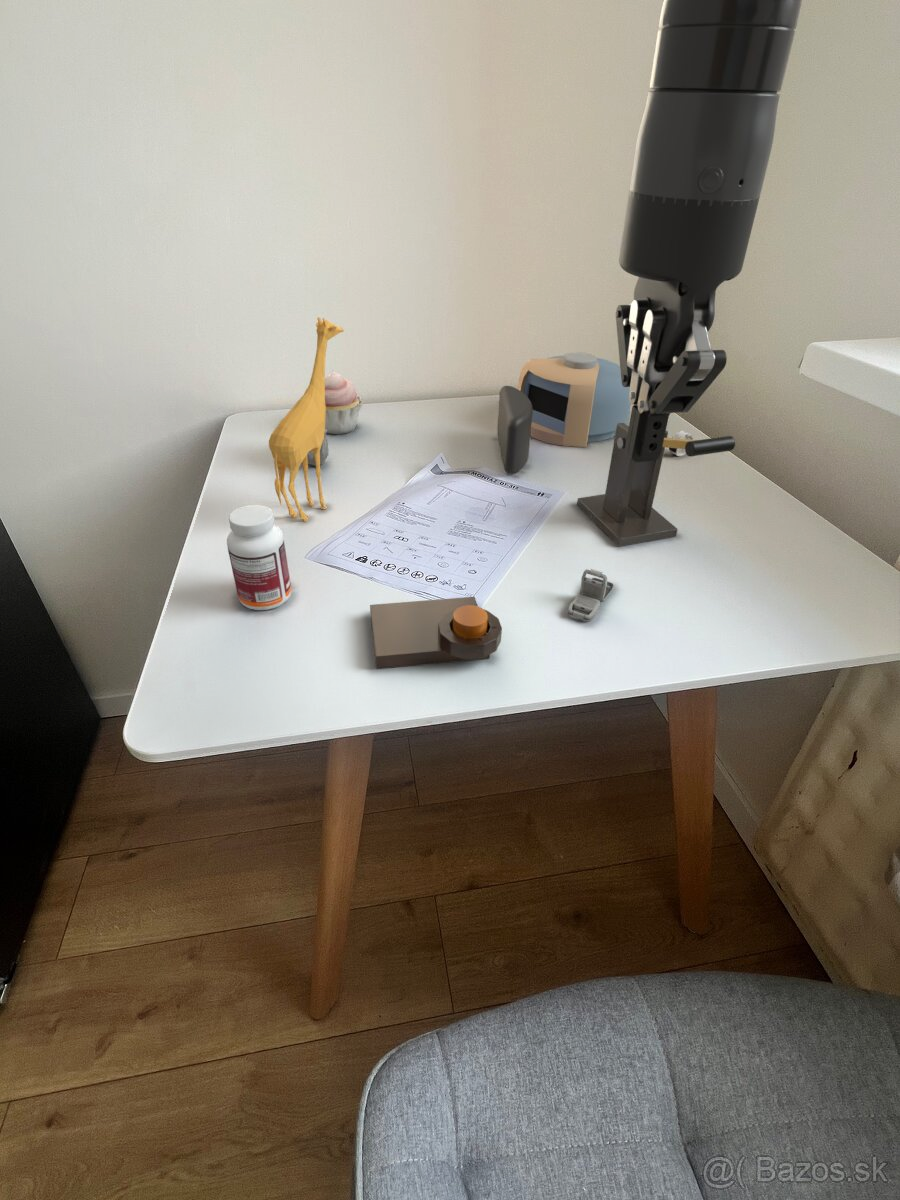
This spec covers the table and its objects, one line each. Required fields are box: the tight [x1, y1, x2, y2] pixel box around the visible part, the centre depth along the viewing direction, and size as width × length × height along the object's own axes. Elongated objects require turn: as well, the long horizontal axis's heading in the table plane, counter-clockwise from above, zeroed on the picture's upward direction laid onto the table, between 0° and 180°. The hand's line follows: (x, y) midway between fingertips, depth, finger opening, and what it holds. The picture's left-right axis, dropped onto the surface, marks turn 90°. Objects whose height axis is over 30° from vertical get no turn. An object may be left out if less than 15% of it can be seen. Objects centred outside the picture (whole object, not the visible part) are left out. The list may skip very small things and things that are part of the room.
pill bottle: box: [226, 504, 292, 611], centre depth 79 cm, size 6×6×11 cm
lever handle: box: [662, 435, 736, 457], centre depth 85 cm, size 16×6×2 cm, turn 20°
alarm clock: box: [517, 351, 632, 448], centre depth 123 cm, size 19×20×12 cm
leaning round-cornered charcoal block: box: [496, 385, 533, 475], centre depth 112 cm, size 16×5×9 cm, turn 1°
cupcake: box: [325, 370, 365, 435], centre depth 120 cm, size 9×9×10 cm
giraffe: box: [268, 316, 345, 522], centre depth 93 cm, size 16×4×25 cm, turn 152°
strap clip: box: [567, 568, 614, 622], centre depth 81 cm, size 8×3×4 cm, turn 150°
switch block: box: [369, 596, 503, 670], centre depth 75 cm, size 13×11×4 cm
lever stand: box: [576, 423, 679, 547], centre depth 94 cm, size 12×9×14 cm
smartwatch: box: [668, 430, 694, 457], centre depth 116 cm, size 4×2×4 cm, turn 116°
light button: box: [453, 605, 488, 639], centre depth 72 cm, size 4×4×2 cm
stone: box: [307, 428, 329, 467], centre depth 109 cm, size 9×7×10 cm
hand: (641, 456), depth 52 cm, fingers closed
